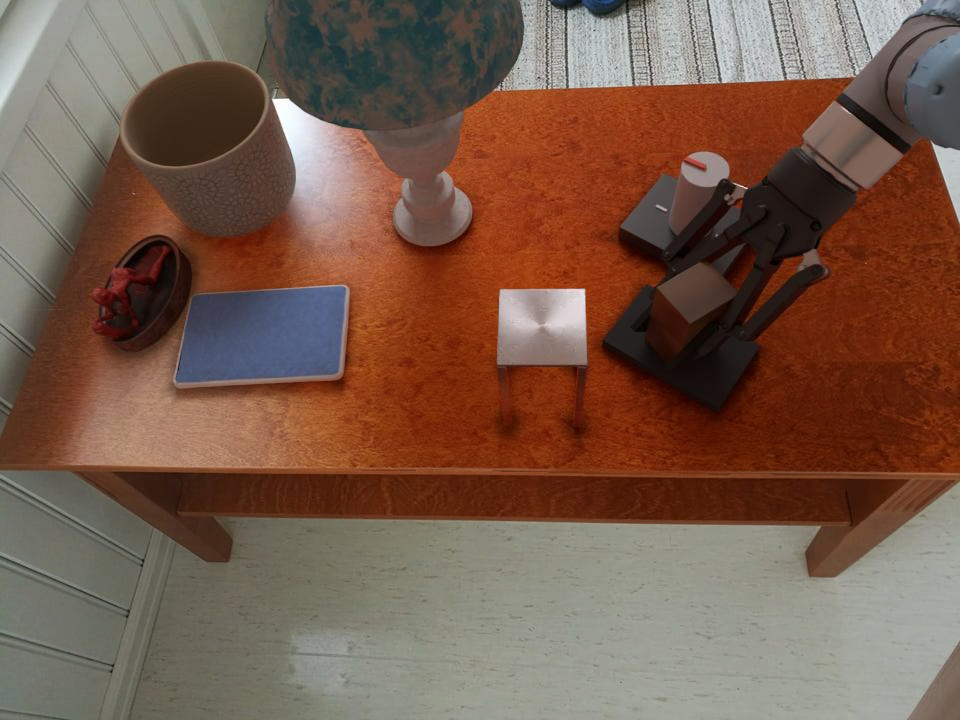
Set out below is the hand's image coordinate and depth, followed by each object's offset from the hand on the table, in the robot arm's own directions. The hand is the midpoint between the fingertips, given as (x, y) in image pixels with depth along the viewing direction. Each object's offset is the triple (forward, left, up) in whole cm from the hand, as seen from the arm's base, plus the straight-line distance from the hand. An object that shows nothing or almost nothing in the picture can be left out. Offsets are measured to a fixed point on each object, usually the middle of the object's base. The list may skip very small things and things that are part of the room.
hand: (655, 348), depth 77 cm
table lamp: (+33, -2, -4) cm, 33 cm away
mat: (-1, -3, -3) cm, 5 cm away
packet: (-1, -3, -2) cm, 4 cm away
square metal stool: (+8, +10, -3) cm, 13 cm away
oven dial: (+6, -17, -1) cm, 18 cm away
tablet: (+38, +22, -4) cm, 44 cm away
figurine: (+53, +27, -4) cm, 60 cm away
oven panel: (+6, -17, -3) cm, 19 cm away
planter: (+55, +10, -4) cm, 56 cm away
